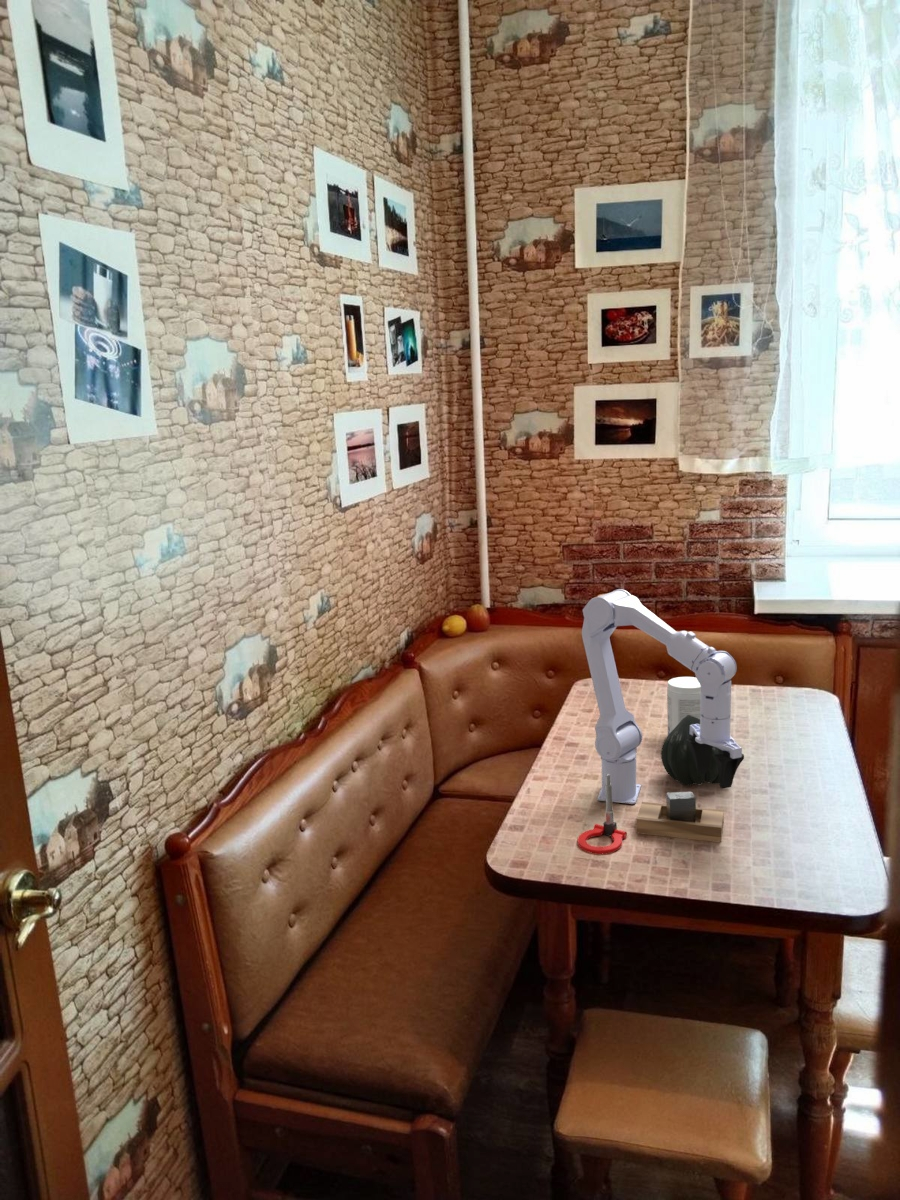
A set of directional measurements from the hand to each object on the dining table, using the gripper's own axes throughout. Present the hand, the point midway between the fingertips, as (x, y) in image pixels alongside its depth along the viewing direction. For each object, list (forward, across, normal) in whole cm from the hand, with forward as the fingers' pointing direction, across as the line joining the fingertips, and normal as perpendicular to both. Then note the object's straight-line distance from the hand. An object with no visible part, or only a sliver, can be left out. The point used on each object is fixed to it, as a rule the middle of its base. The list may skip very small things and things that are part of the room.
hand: (714, 780), depth 189 cm
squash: (+9, -19, +8) cm, 23 cm away
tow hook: (+9, -1, -24) cm, 26 cm away
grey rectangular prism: (+8, 0, -7) cm, 11 cm away
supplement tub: (+9, -40, +20) cm, 46 cm away
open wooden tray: (+9, 0, -8) cm, 12 cm away
